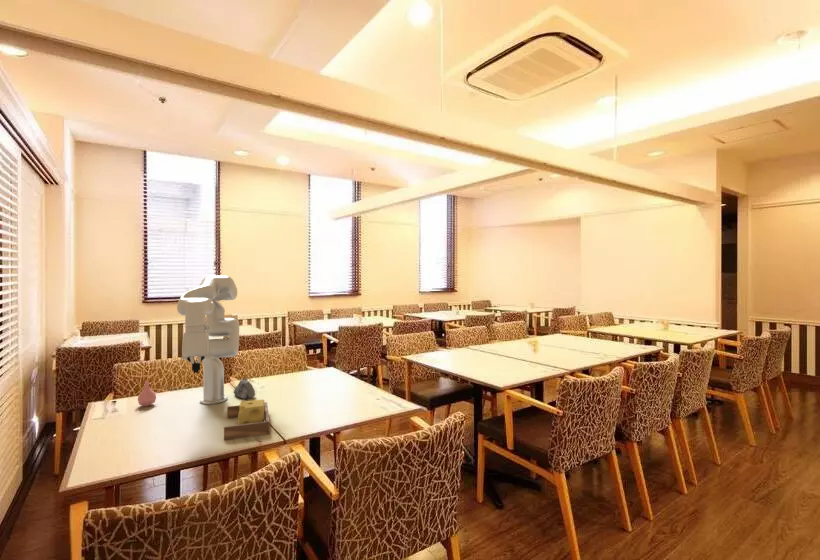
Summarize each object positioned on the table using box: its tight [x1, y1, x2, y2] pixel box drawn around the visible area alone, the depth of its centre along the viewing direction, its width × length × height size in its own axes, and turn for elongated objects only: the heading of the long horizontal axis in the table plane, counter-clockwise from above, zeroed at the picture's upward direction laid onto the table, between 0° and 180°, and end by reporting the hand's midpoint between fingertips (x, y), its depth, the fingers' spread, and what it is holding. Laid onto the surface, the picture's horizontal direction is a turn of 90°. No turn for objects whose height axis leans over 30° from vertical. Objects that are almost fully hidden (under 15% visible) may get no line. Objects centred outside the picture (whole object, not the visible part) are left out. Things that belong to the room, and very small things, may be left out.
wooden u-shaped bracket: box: [223, 401, 271, 441], centre depth 174 cm, size 26×17×5 cm, turn 22°
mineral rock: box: [233, 377, 256, 400], centre depth 215 cm, size 13×11×10 cm
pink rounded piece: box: [137, 380, 157, 407], centre depth 199 cm, size 8×8×12 cm
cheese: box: [237, 399, 265, 425], centre depth 174 cm, size 10×11×10 cm
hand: (196, 372), depth 172 cm, fingers closed
